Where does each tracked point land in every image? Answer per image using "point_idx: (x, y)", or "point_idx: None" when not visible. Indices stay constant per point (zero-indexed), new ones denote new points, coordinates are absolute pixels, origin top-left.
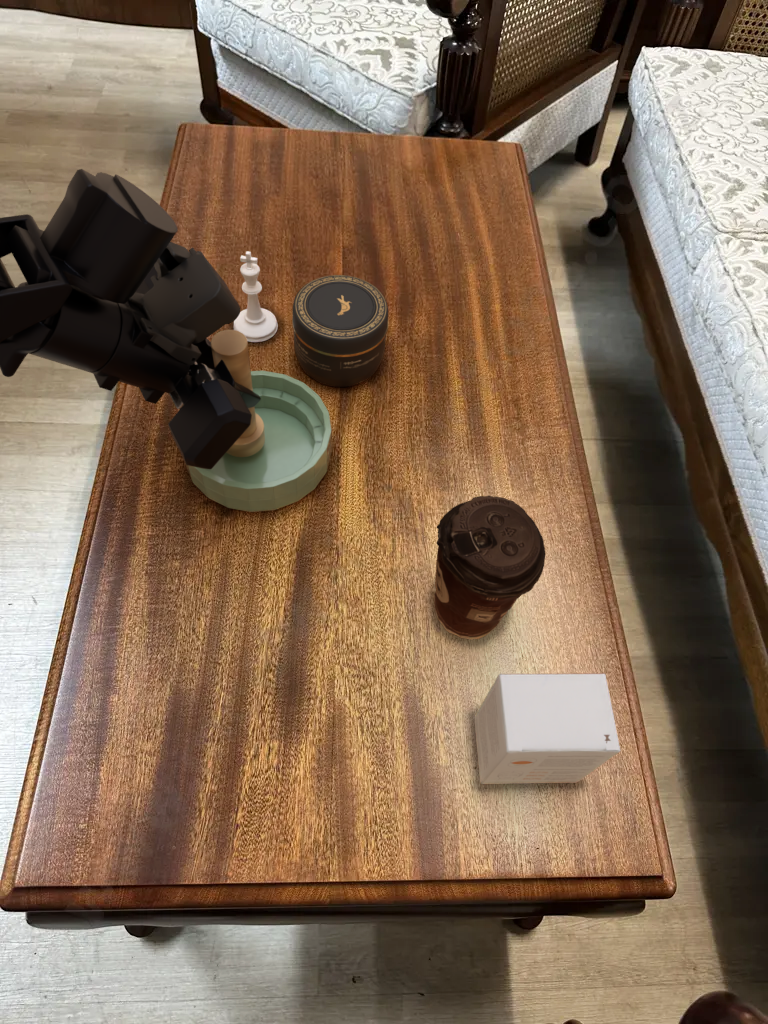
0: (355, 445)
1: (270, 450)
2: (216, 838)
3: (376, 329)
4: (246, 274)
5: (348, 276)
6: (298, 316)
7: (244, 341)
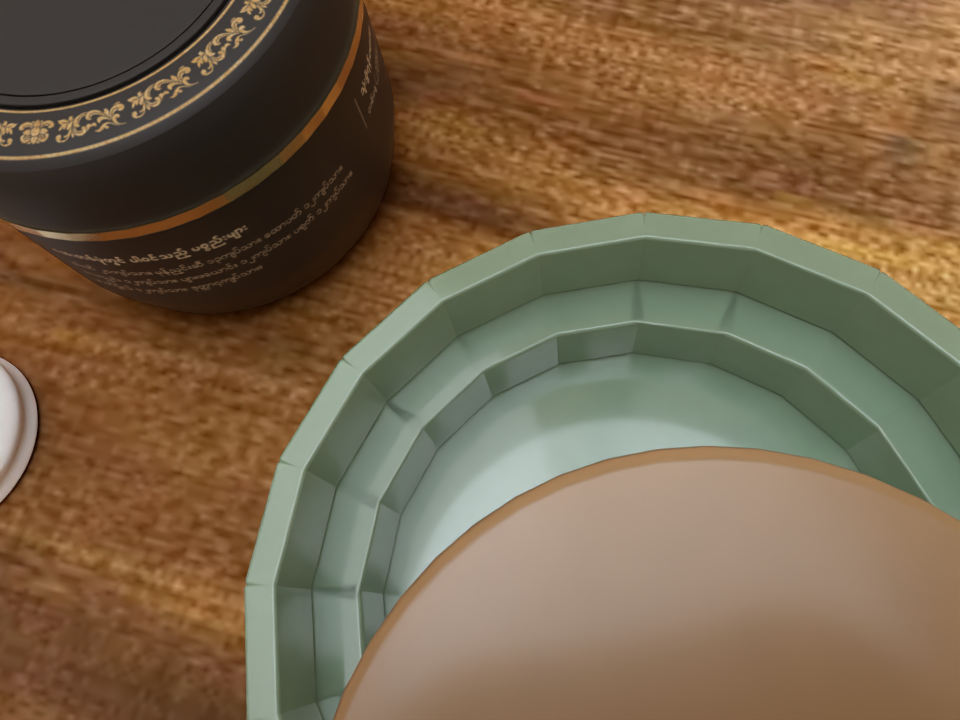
0: (674, 212)
1: None
2: None
3: None
4: None
5: None
6: (53, 157)
7: (776, 510)
